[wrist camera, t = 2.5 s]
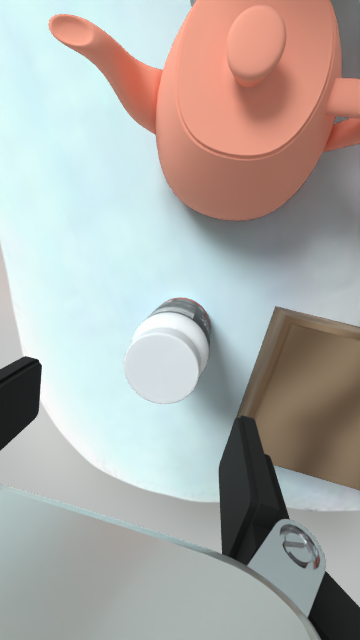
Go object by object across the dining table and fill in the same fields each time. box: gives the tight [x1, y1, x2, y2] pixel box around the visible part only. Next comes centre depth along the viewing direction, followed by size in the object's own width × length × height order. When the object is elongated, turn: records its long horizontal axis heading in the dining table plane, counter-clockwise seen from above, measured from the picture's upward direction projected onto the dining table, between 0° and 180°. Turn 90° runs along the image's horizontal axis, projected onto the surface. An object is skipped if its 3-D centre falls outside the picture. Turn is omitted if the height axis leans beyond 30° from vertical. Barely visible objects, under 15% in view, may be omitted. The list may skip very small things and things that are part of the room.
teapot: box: [49, 0, 360, 221], centre depth 15 cm, size 12×18×10 cm
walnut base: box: [237, 306, 360, 490], centre depth 22 cm, size 14×14×4 cm
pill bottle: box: [124, 298, 211, 404], centre depth 19 cm, size 6×6×10 cm
